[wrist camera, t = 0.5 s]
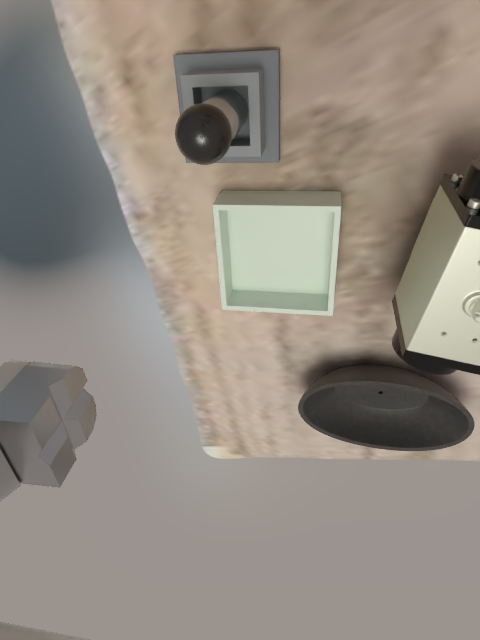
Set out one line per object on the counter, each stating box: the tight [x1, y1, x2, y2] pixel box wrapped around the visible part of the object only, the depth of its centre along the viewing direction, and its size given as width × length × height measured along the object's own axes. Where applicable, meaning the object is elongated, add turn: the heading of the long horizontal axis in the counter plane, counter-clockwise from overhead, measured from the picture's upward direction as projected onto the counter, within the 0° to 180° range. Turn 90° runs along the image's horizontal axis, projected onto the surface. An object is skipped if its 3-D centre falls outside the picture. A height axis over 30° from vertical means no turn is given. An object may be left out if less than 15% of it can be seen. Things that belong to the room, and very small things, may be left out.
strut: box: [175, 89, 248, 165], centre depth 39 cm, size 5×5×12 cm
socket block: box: [173, 49, 280, 163], centre depth 43 cm, size 10×10×4 cm
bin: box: [213, 190, 341, 316], centre depth 51 cm, size 13×13×4 cm
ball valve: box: [392, 159, 480, 375], centre depth 41 cm, size 18×8×18 cm, turn 172°
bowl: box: [298, 365, 474, 451], centre depth 60 cm, size 12×22×6 cm, turn 89°
